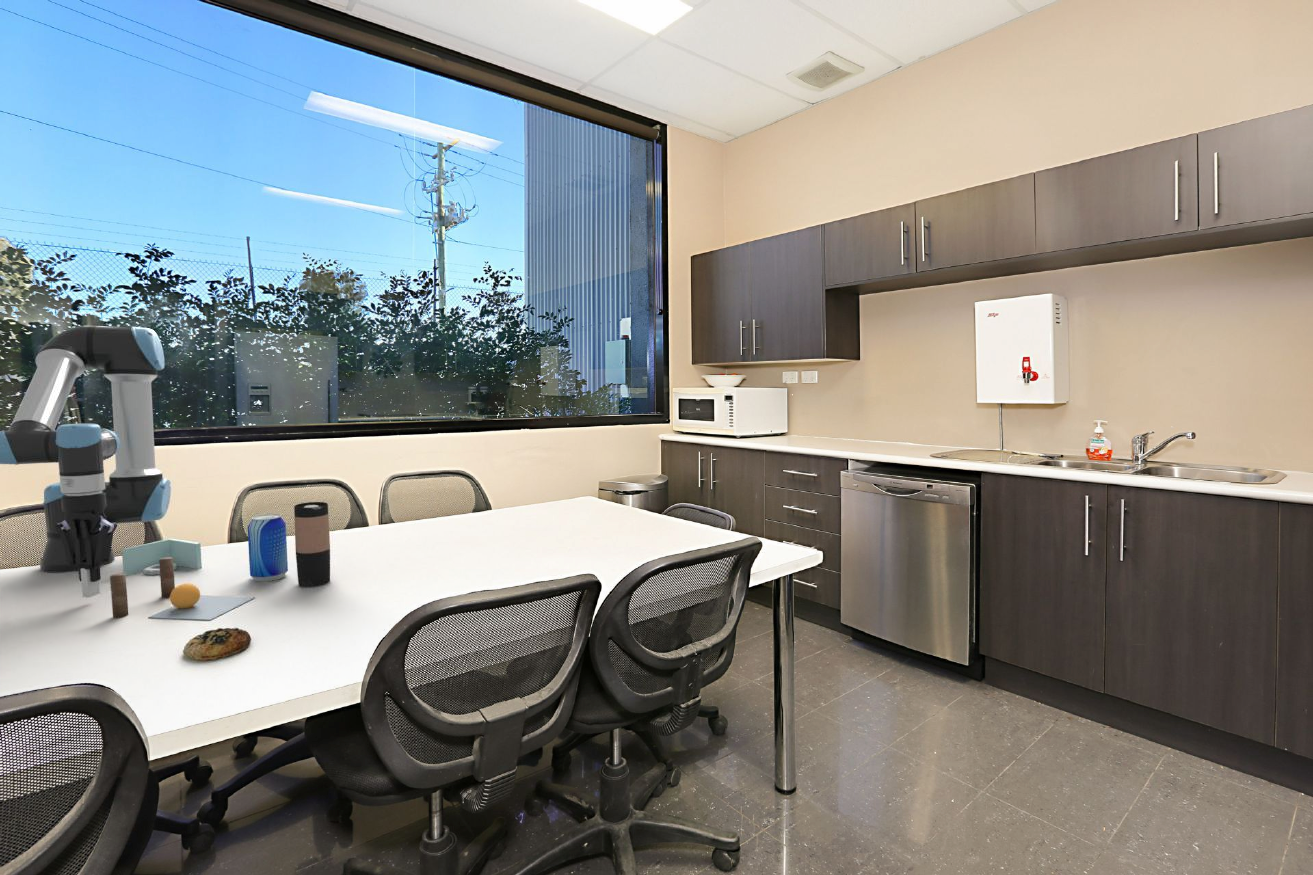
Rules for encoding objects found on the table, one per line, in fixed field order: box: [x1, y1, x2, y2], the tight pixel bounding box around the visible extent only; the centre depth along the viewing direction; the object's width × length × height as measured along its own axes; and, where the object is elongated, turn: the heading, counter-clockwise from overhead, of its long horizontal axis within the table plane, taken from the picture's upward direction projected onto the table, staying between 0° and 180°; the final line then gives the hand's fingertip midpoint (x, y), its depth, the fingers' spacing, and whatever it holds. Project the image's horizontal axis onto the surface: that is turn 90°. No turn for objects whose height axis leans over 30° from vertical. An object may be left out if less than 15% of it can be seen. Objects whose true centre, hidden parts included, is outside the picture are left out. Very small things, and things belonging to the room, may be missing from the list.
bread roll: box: [182, 627, 252, 662], centre depth 124 cm, size 11×11×5 cm
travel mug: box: [293, 501, 331, 588], centre depth 163 cm, size 8×8×20 cm
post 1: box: [109, 572, 129, 619], centre depth 140 cm, size 3×3×9 cm
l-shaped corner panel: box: [121, 538, 203, 576], centre depth 171 cm, size 12×12×8 cm
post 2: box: [159, 557, 176, 599], centre depth 153 cm, size 3×3×9 cm
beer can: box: [247, 513, 289, 582], centre depth 167 cm, size 8×8×16 cm
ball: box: [169, 582, 201, 609], centre depth 145 cm, size 6×6×6 cm
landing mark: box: [147, 594, 256, 622], centre depth 146 cm, size 14×14×1 cm
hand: (91, 595), depth 148 cm, fingers closed
